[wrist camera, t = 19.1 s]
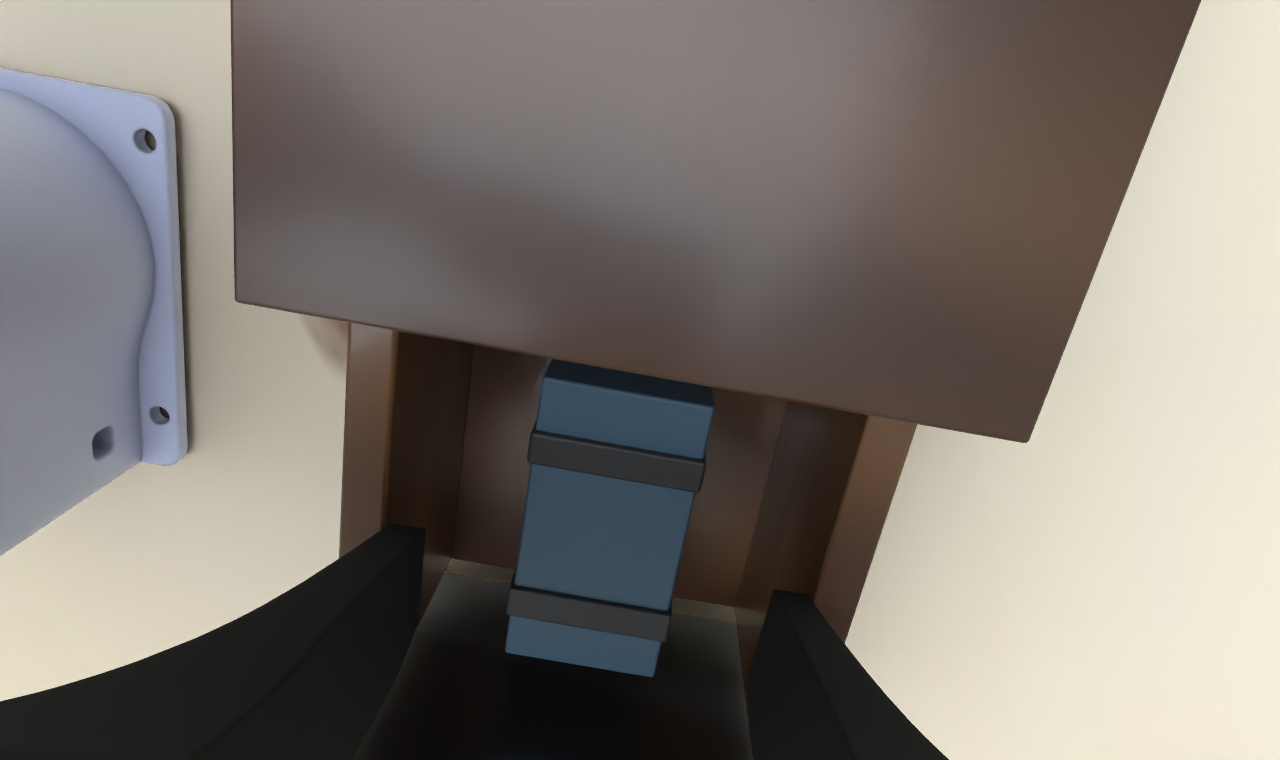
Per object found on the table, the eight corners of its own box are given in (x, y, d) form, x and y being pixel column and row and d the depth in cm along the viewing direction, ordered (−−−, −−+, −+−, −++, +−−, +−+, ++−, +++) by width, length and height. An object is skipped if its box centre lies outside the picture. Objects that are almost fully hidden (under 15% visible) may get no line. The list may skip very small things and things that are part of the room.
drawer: (724, 788, 23) (743, 1043, 17) (395, 733, 23) (290, 970, 17) (885, 229, 17) (1005, 303, 11) (441, 147, 17) (305, 175, 11)
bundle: (562, 326, 17) (537, 378, 14) (711, 353, 17) (719, 411, 14) (528, 565, 20) (499, 657, 16) (659, 588, 20) (656, 684, 16)
